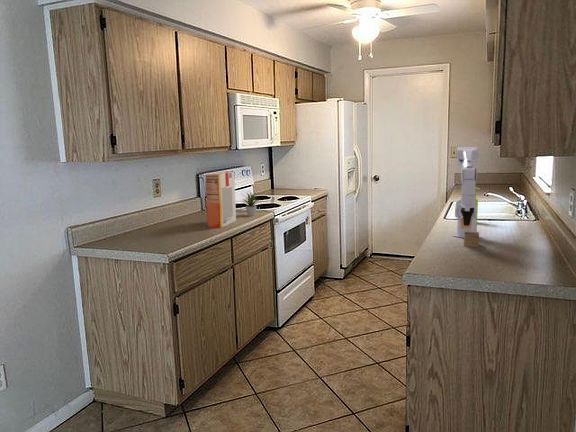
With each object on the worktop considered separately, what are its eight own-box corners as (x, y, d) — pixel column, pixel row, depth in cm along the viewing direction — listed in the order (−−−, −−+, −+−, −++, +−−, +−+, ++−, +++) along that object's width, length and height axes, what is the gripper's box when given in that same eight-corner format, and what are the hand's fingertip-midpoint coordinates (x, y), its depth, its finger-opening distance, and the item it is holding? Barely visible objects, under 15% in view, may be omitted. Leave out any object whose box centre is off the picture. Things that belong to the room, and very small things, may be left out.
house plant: (268, 215, 313) (268, 189, 310) (254, 218, 302) (253, 192, 299) (252, 213, 321) (251, 188, 319) (238, 216, 311) (237, 190, 308)
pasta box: (223, 220, 297) (221, 171, 292) (236, 220, 294) (234, 171, 289) (207, 227, 275) (205, 174, 270) (220, 227, 273) (218, 174, 268)
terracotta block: (461, 226, 223) (461, 216, 222) (471, 227, 221) (471, 216, 220) (460, 228, 218) (461, 217, 218) (471, 229, 217) (471, 218, 216)
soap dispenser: (475, 224, 269) (477, 188, 266) (464, 222, 274) (465, 187, 271) (480, 222, 273) (482, 187, 270) (469, 221, 278) (470, 186, 275)
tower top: (464, 237, 223) (464, 231, 223) (478, 238, 221) (478, 231, 221) (464, 240, 218) (464, 233, 217) (478, 241, 216) (479, 234, 215)
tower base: (464, 243, 224) (464, 237, 223) (477, 244, 222) (478, 238, 221) (463, 246, 218) (464, 240, 218) (478, 247, 216) (478, 241, 216)
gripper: (459, 192, 225) (458, 221, 227) (458, 196, 212) (456, 226, 214) (475, 193, 223) (474, 221, 225) (475, 197, 209) (473, 227, 212)
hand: (466, 224), depth 219 cm, fingers closed on terracotta block, 4 cm apart
